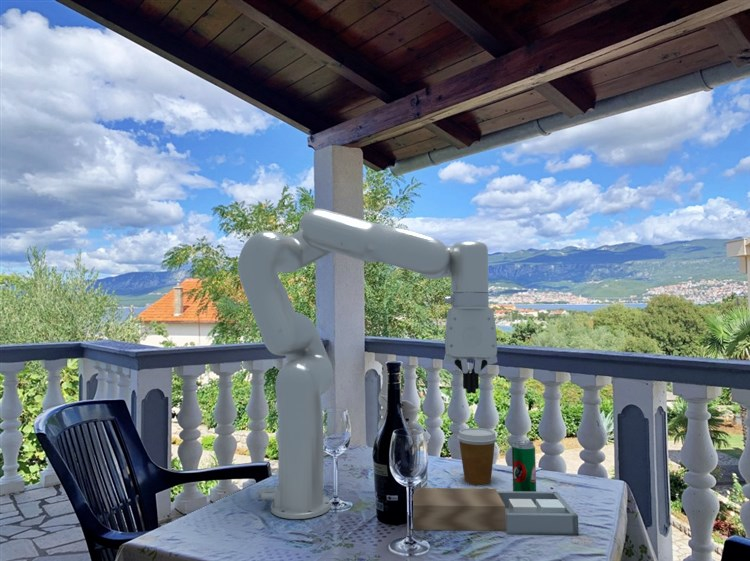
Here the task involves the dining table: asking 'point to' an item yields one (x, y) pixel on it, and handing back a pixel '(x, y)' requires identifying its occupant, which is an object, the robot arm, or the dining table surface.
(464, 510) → the wooden base board
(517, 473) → the soda can
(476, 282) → the robot arm
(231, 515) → the dining table surface
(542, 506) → the tile
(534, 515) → the tray
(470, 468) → the disposable coffee cup
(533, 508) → the tile
